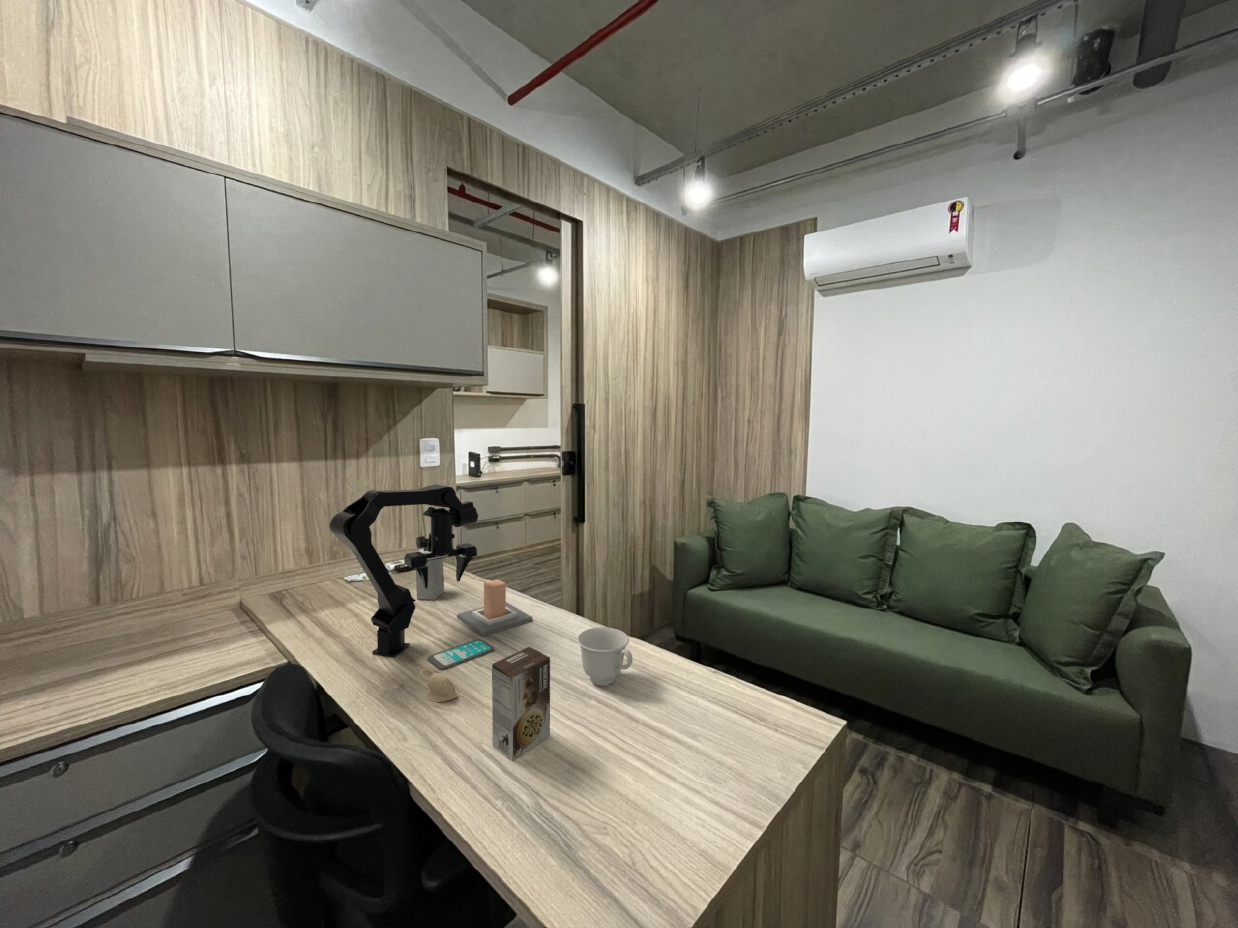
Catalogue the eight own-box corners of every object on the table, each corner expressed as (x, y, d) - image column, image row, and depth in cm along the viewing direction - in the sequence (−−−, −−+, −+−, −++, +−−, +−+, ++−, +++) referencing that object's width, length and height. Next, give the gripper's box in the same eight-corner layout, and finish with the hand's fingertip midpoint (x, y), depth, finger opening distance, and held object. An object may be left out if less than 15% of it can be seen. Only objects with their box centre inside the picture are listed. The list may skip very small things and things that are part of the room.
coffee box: (528, 722, 96) (529, 645, 95) (550, 736, 92) (552, 656, 91) (490, 745, 89) (490, 662, 88) (512, 762, 85) (513, 675, 84)
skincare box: (435, 600, 157) (435, 553, 156) (413, 599, 157) (413, 552, 156) (445, 591, 166) (445, 546, 164) (424, 590, 166) (424, 545, 164)
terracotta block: (505, 615, 144) (505, 583, 143) (491, 620, 141) (491, 586, 140) (497, 611, 147) (497, 579, 146) (483, 615, 144) (483, 582, 143)
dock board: (483, 636, 133) (483, 628, 133) (457, 617, 145) (457, 610, 144) (532, 620, 144) (532, 613, 144) (504, 604, 156) (504, 598, 155)
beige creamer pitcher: (444, 706, 101) (443, 682, 101) (417, 694, 105) (417, 670, 105) (459, 697, 105) (459, 673, 104) (433, 685, 109) (433, 662, 108)
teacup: (610, 705, 103) (612, 661, 102) (565, 678, 113) (566, 637, 112) (647, 684, 111) (649, 642, 110) (602, 660, 122) (603, 622, 121)
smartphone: (424, 656, 120) (478, 637, 131) (424, 659, 120) (478, 640, 131) (441, 669, 114) (496, 648, 125) (441, 673, 115) (496, 651, 125)
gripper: (460, 520, 146) (460, 570, 148) (396, 529, 133) (397, 584, 135) (478, 527, 138) (478, 580, 140) (411, 537, 125) (412, 595, 127)
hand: (442, 584), depth 135 cm, fingers open, 9 cm apart
